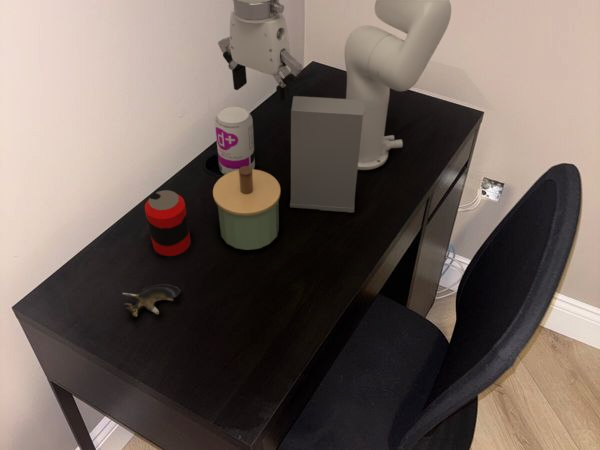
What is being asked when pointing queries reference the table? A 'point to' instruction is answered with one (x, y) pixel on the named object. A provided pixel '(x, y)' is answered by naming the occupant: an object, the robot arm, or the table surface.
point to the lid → (246, 192)
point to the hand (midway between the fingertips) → (261, 94)
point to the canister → (249, 228)
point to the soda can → (168, 223)
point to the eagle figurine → (151, 297)
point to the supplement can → (234, 138)
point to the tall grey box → (325, 152)
